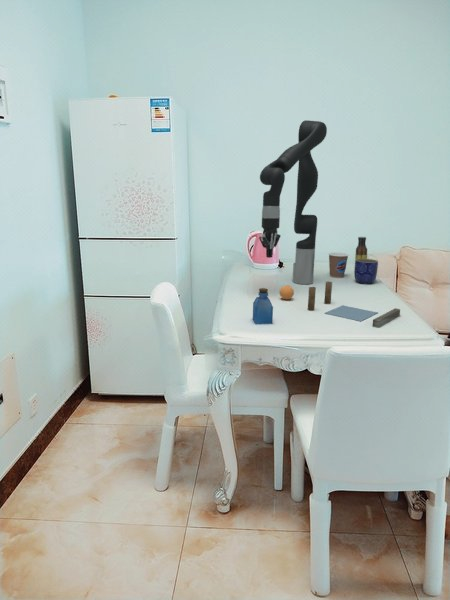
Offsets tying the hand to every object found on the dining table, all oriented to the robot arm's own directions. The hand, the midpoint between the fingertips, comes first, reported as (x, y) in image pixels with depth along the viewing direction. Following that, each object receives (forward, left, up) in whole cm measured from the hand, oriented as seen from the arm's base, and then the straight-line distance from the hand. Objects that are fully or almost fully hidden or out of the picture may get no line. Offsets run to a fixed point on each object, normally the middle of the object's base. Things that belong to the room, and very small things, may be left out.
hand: (269, 257), depth 199 cm
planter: (+20, +55, -17) cm, 61 cm away
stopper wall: (+54, 0, -17) cm, 56 cm away
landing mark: (+40, 0, -17) cm, 43 cm away
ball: (+10, 0, -14) cm, 17 cm away
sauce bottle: (+8, +75, -17) cm, 77 cm away
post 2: (+26, +7, -17) cm, 32 cm away
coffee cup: (+3, +58, -17) cm, 61 cm away
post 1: (+26, -7, -17) cm, 32 cm away
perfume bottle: (+21, -32, -17) cm, 42 cm away
